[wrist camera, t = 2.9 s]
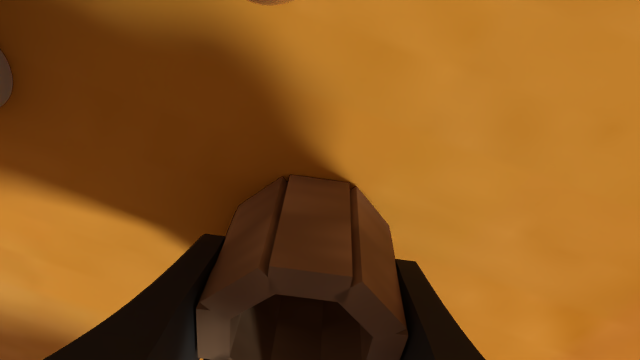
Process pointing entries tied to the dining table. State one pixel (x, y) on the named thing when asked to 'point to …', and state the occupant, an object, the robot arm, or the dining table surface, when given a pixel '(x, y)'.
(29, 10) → the dining table surface
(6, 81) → the post inner
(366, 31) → the dining table surface
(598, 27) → the dining table surface
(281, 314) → the napkin ring
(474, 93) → the dining table surface
